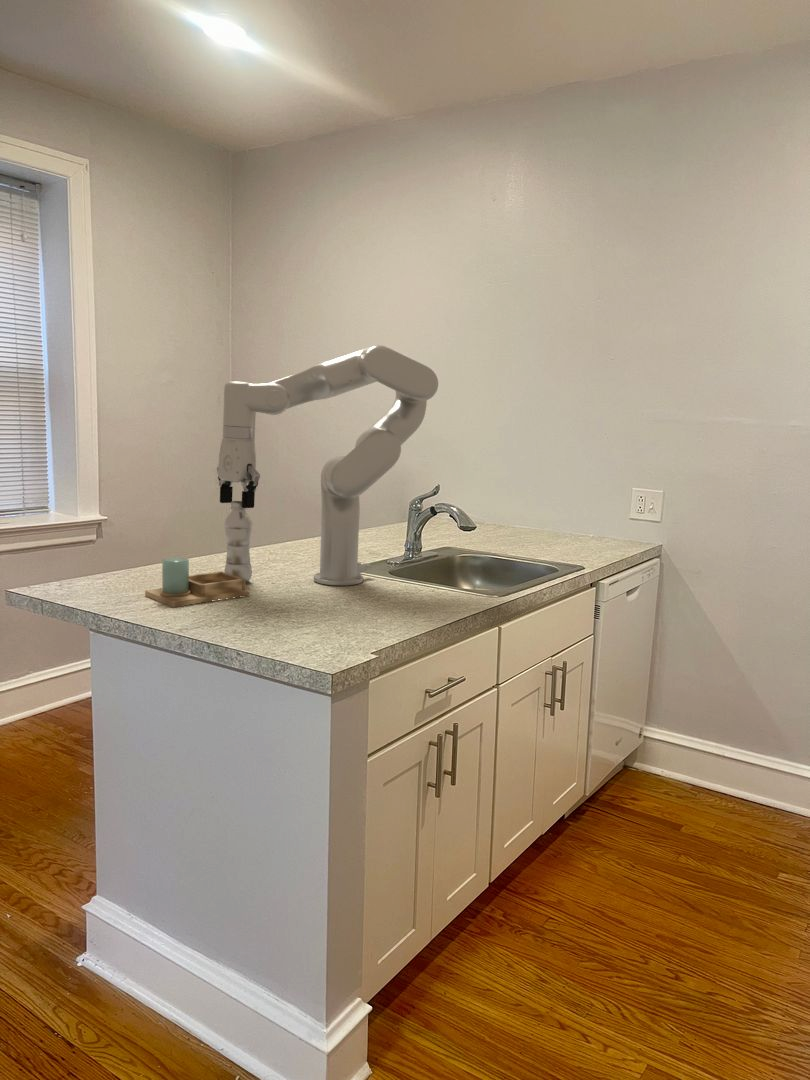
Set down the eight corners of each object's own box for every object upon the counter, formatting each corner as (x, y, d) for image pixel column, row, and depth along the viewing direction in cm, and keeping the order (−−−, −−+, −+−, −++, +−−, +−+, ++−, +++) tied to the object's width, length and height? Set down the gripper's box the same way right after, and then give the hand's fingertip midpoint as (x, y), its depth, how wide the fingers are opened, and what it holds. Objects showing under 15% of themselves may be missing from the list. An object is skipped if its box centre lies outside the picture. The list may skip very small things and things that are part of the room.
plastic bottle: (245, 586, 193) (246, 504, 190) (219, 583, 194) (220, 502, 191) (256, 580, 199) (257, 501, 196) (230, 578, 201) (231, 499, 197)
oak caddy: (219, 585, 193) (219, 570, 192) (249, 596, 184) (249, 580, 183) (145, 595, 180) (145, 579, 179) (173, 607, 171) (173, 590, 170)
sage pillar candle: (180, 587, 181) (180, 556, 180) (193, 591, 178) (193, 561, 176) (157, 590, 178) (157, 559, 176) (170, 595, 174) (170, 563, 173)
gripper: (206, 431, 194) (204, 501, 197) (245, 436, 182) (242, 510, 185) (233, 432, 200) (230, 500, 202) (272, 437, 188) (270, 509, 190)
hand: (236, 505), depth 194 cm, fingers open, 9 cm apart
